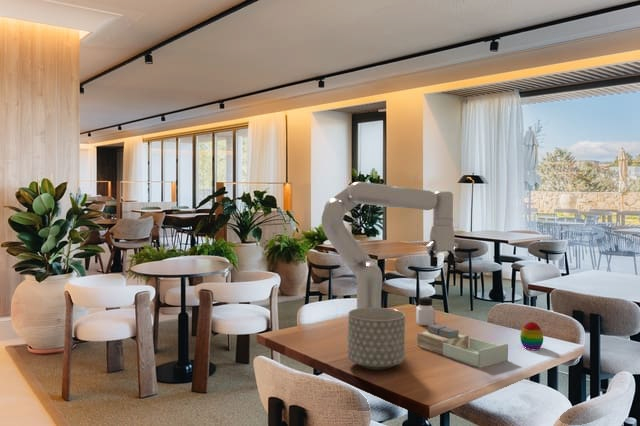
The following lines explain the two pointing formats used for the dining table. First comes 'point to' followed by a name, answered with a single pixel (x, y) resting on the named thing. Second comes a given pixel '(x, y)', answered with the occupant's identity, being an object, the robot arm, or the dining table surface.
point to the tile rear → (435, 328)
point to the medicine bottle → (425, 312)
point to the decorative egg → (531, 336)
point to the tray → (478, 353)
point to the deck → (441, 341)
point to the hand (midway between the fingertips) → (442, 265)
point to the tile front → (448, 332)
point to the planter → (376, 337)
